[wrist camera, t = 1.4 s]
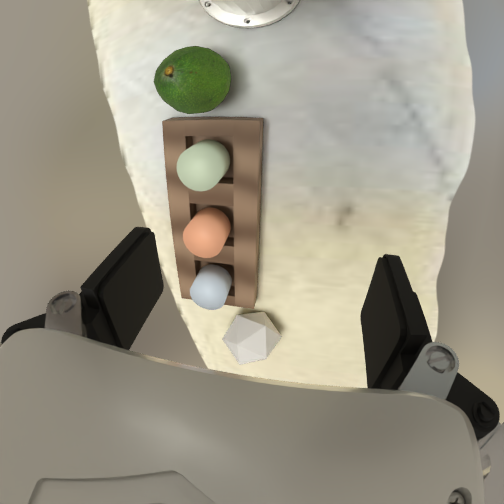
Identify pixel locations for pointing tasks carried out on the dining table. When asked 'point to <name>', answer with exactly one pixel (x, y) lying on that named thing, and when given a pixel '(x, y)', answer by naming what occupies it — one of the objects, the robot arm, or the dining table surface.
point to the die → (251, 337)
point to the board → (219, 200)
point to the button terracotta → (207, 232)
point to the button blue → (211, 287)
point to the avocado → (193, 80)
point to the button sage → (203, 165)
